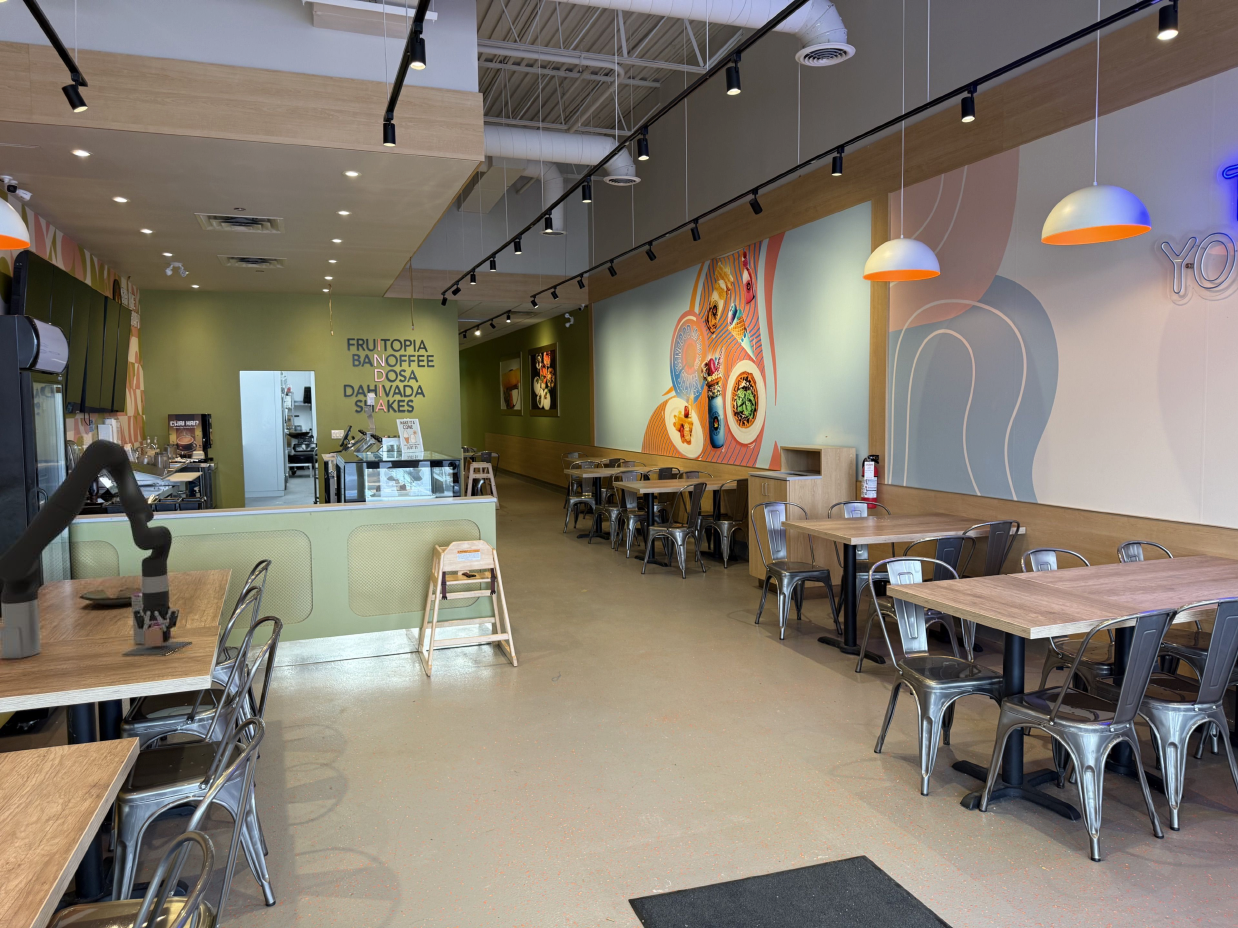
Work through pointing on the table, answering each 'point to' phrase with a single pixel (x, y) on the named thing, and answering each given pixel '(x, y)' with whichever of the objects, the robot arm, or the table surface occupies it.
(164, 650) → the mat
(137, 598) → the candy bar box
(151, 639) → the letter cube
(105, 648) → the table surface
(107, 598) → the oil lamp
